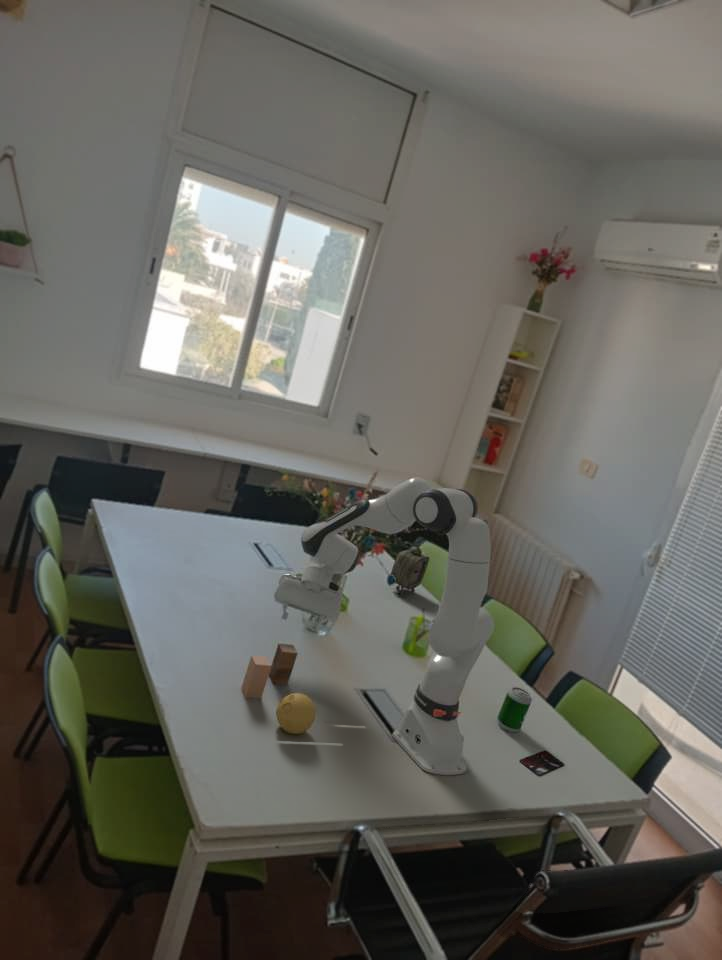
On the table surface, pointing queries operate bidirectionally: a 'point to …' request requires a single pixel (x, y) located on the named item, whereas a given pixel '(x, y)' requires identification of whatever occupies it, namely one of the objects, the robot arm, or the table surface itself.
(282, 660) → the walnut pillar
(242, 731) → the table surface
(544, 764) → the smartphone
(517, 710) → the soda can
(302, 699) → the stress ball
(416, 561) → the rolling backpack
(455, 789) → the table surface
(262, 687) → the terracotta pillar
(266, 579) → the table surface
